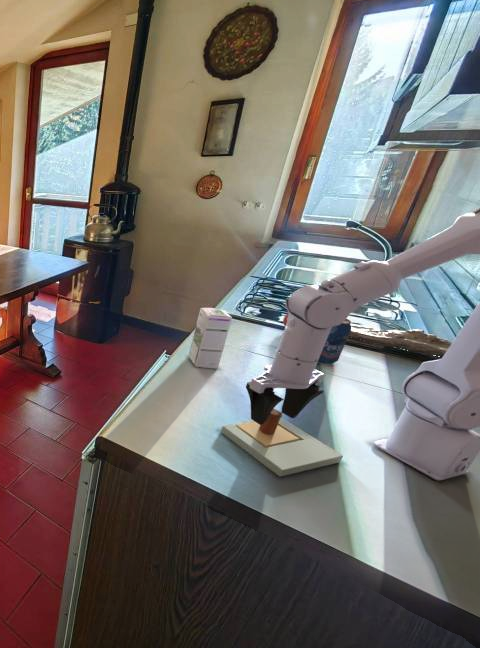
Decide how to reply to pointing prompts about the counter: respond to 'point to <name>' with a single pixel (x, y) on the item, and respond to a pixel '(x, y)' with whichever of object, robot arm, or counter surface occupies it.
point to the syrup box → (209, 337)
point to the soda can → (335, 343)
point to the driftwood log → (402, 340)
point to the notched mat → (286, 450)
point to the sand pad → (265, 438)
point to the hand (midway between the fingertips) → (272, 418)
